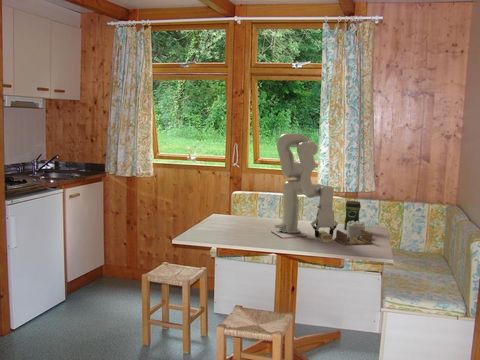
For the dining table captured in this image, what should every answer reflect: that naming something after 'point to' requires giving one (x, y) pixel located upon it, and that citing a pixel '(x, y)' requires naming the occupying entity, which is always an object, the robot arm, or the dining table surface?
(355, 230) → the lumpy-topped squat cylinder
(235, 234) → the dining table surface
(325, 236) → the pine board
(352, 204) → the coffee jar
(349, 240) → the peg cradle
